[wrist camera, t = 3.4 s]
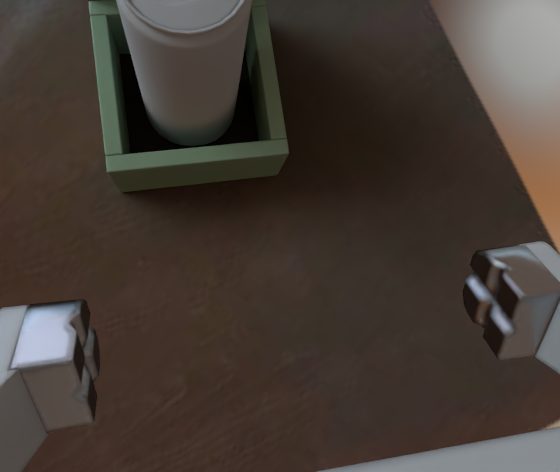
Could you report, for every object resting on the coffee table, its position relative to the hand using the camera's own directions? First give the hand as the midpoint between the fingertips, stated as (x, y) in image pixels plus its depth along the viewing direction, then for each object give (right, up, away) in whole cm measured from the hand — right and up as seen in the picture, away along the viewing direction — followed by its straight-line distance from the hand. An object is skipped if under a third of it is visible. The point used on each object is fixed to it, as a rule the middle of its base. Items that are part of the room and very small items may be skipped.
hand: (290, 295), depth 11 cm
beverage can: (-5, +8, +19) cm, 21 cm away
